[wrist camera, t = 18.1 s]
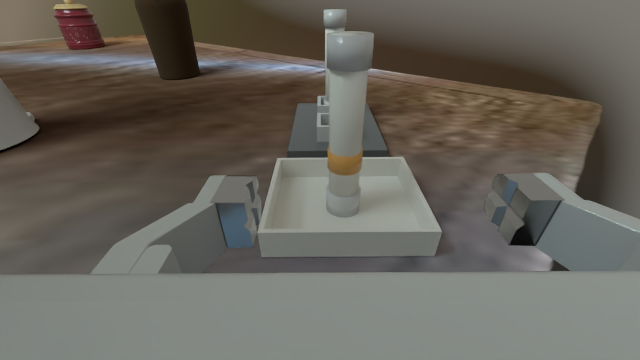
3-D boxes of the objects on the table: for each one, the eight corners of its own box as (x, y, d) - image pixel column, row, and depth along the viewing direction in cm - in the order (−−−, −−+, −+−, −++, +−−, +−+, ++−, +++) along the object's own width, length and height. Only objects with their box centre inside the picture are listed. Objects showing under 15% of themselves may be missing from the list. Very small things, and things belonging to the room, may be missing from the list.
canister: (67, 47, 119) (44, -3, 109) (103, 44, 126) (85, -3, 116) (69, 50, 110) (44, -3, 101) (107, 47, 117) (88, -4, 107)
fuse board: (288, 158, 34) (286, 135, 32) (298, 109, 49) (297, 91, 48) (387, 157, 34) (390, 134, 32) (366, 108, 49) (368, 91, 47)
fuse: (324, 116, 43) (323, 10, 36) (323, 110, 46) (323, 9, 38) (343, 116, 43) (347, 10, 36) (342, 109, 46) (345, 9, 38)
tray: (261, 257, 21) (257, 232, 20) (279, 178, 30) (277, 158, 29) (434, 256, 21) (442, 231, 20) (399, 177, 30) (403, 156, 29)
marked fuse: (326, 217, 24) (327, 36, 17) (325, 197, 27) (326, 31, 19) (361, 217, 24) (377, 35, 17) (357, 196, 27) (370, 31, 19)
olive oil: (210, 74, 73) (184, -50, 59) (171, 82, 66) (130, -56, 52) (188, 69, 78) (159, -45, 65) (150, 76, 71) (108, -50, 58)
